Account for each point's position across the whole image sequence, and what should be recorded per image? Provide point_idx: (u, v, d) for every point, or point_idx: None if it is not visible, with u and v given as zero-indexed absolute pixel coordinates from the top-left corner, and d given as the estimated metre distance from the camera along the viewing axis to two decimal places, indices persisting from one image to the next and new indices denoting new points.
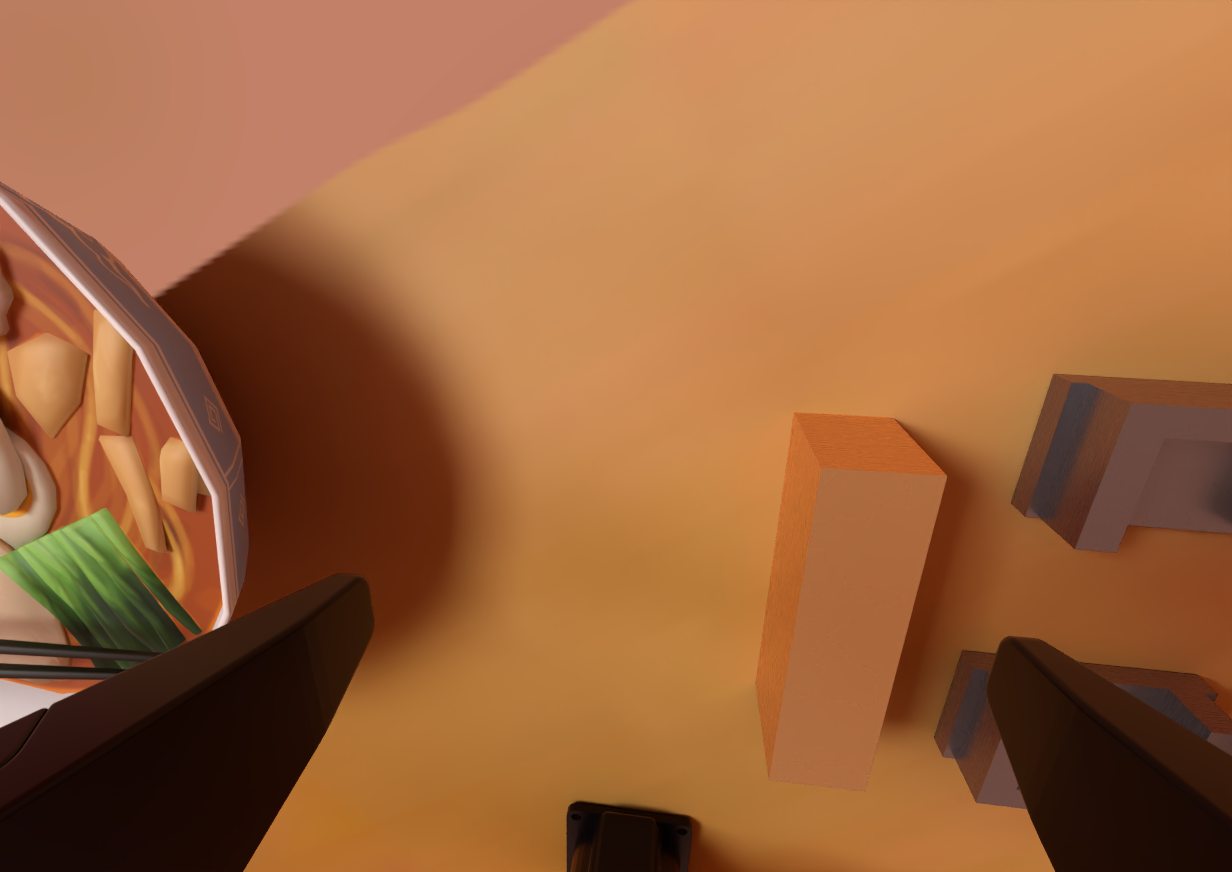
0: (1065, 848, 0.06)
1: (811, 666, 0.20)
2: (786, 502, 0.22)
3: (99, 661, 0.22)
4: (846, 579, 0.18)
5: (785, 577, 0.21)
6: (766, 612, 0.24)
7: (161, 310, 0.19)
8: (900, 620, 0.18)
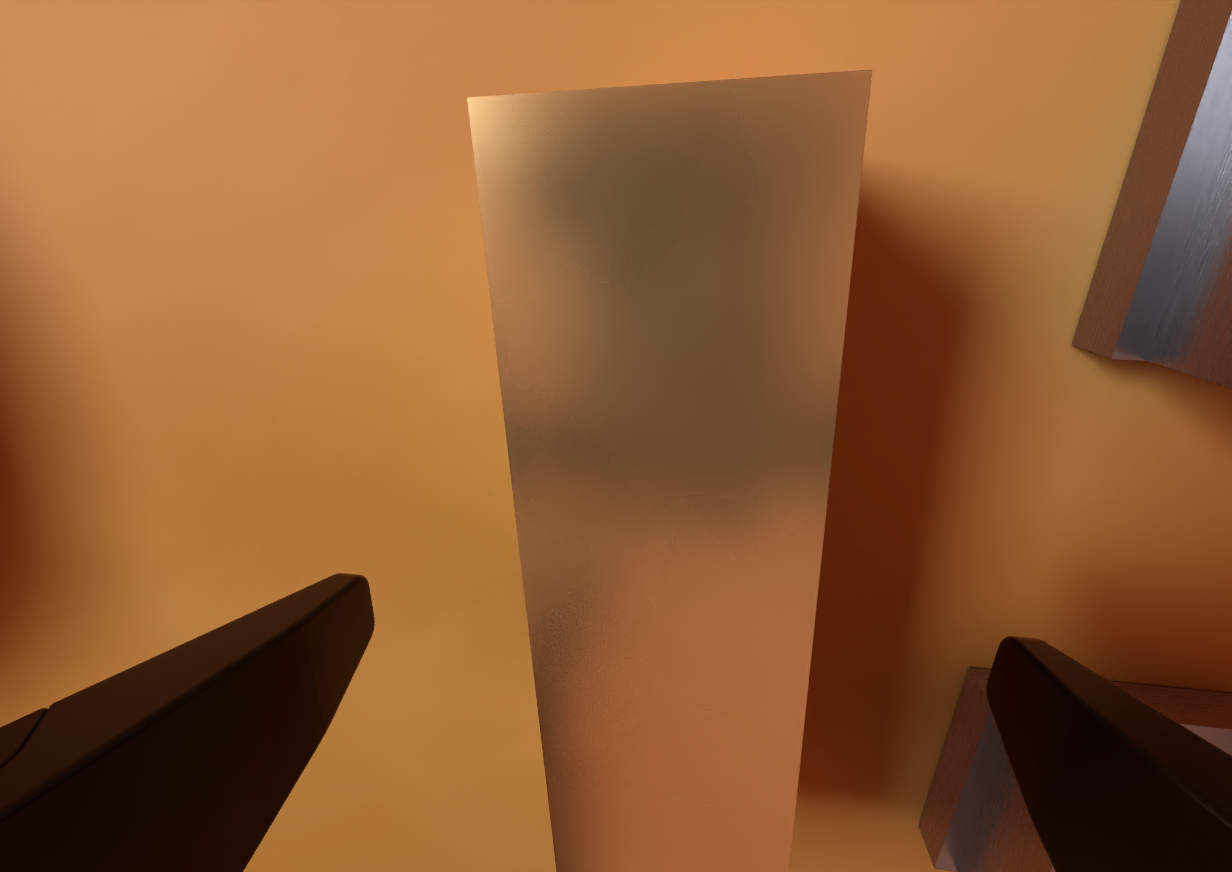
0: (1065, 848, 0.06)
1: (594, 720, 0.08)
2: None
3: None
4: (627, 478, 0.06)
5: None
6: None
7: None
8: (793, 587, 0.07)
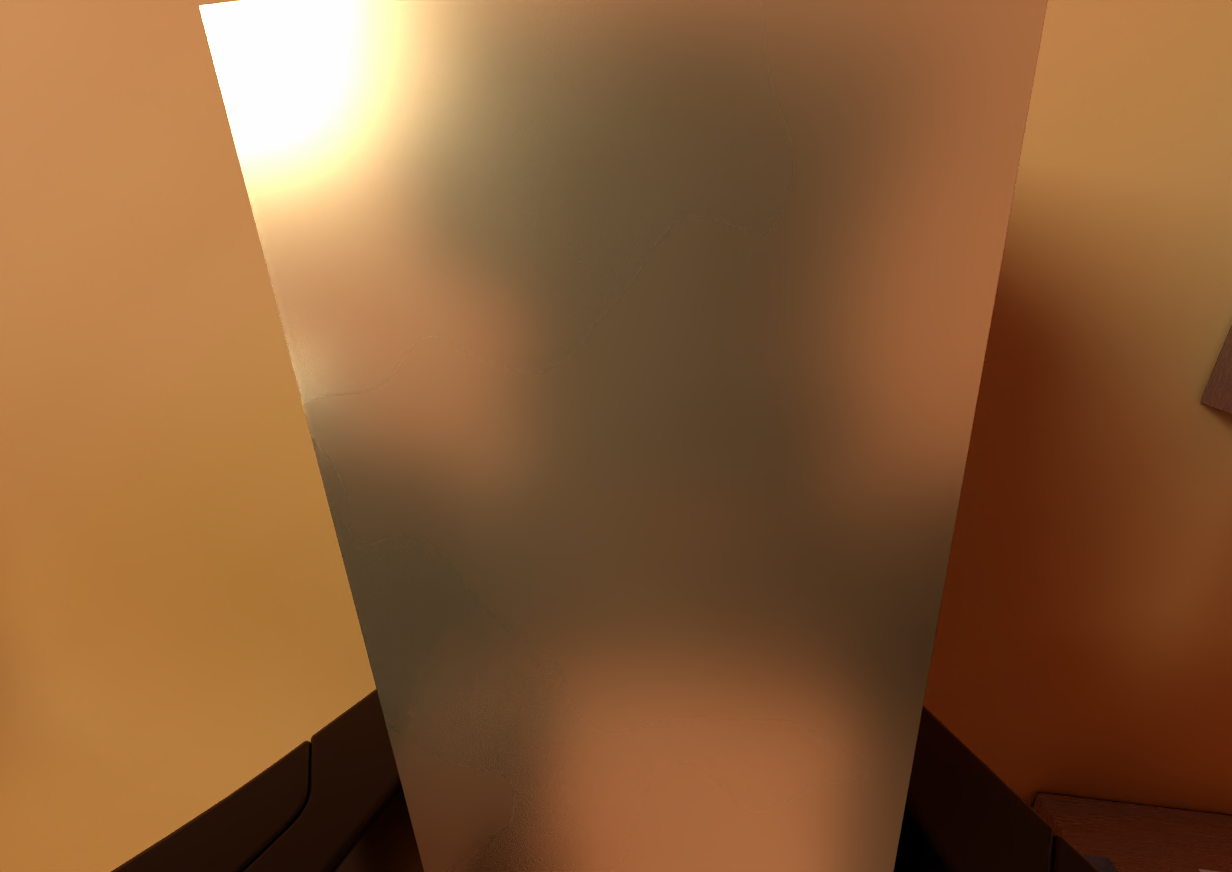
0: None
1: None
2: None
3: None
4: (569, 685, 0.04)
5: None
6: None
7: None
8: (853, 853, 0.04)
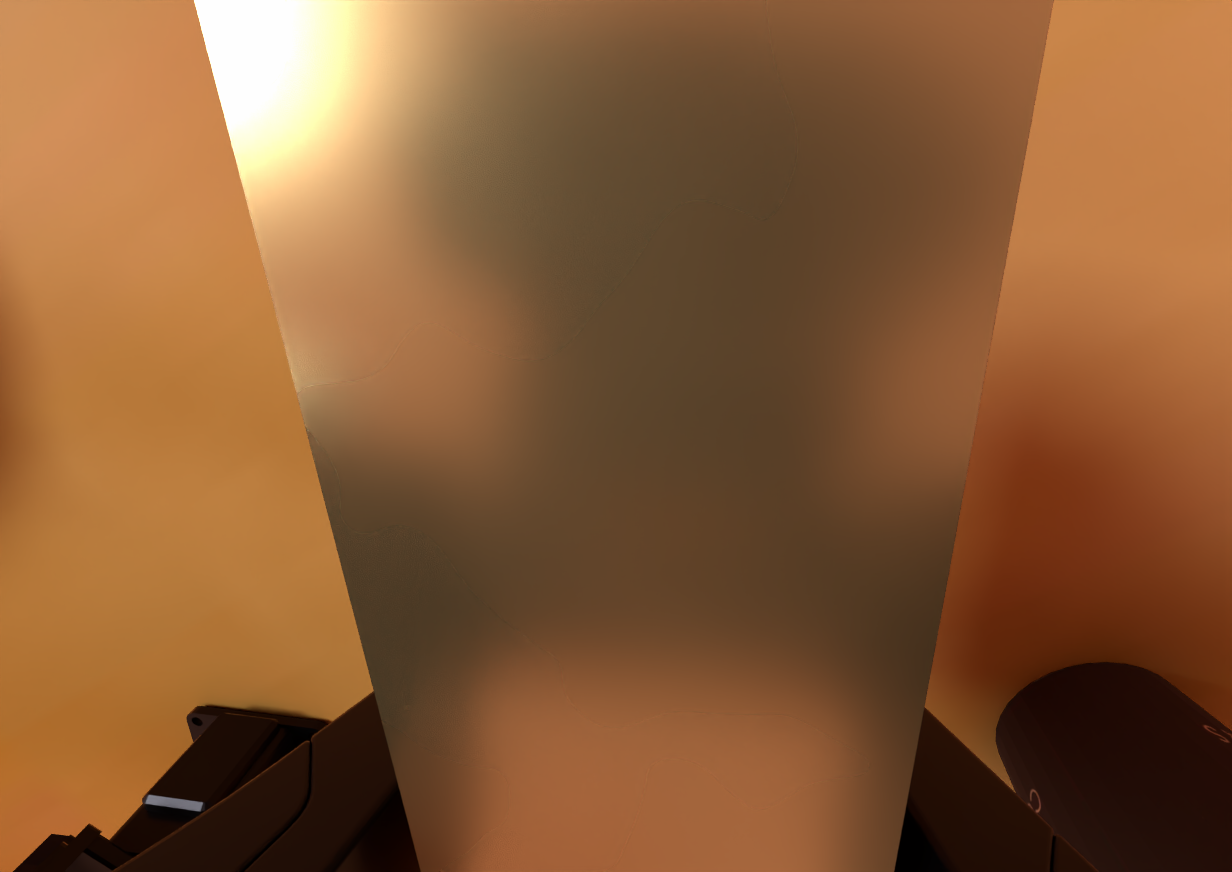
0: None
1: None
2: None
3: None
4: (567, 679, 0.04)
5: None
6: None
7: None
8: (854, 851, 0.04)
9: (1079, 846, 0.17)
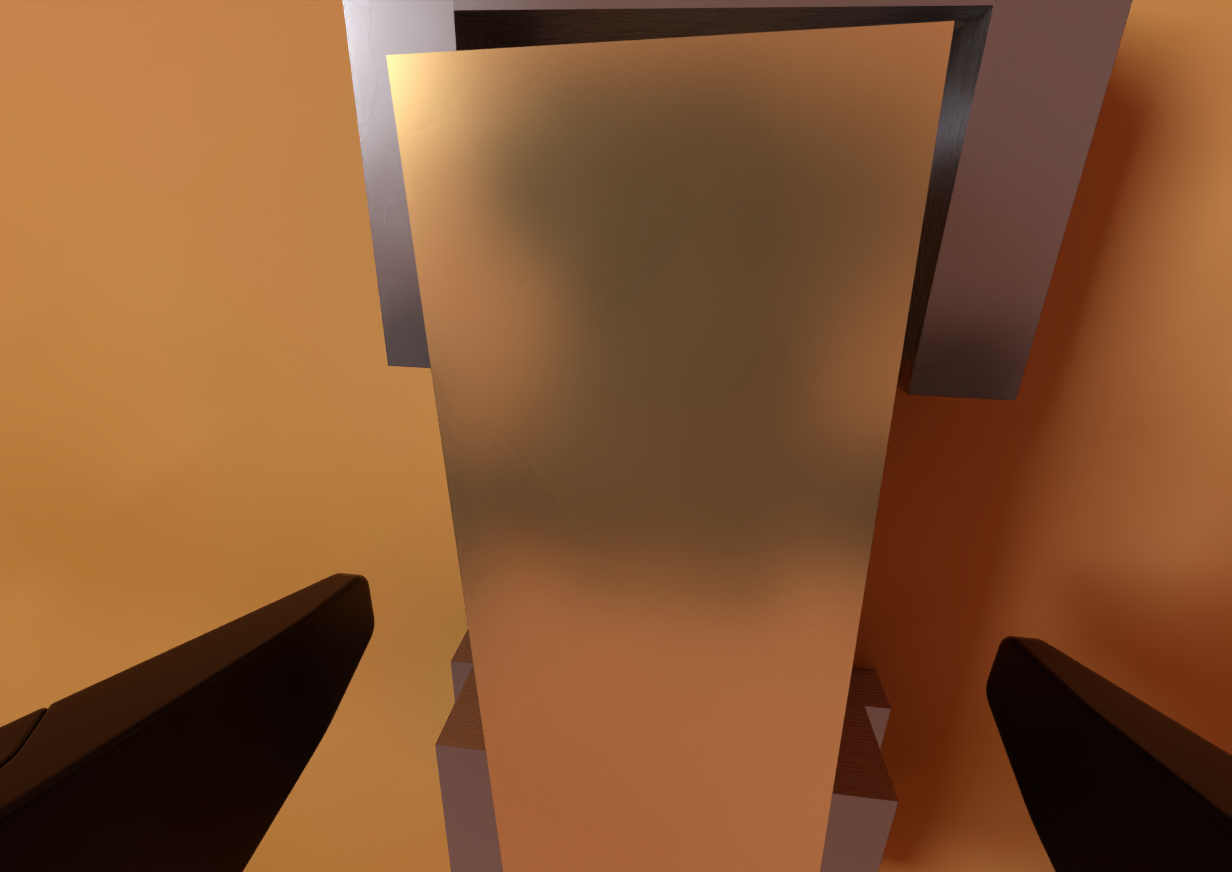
0: (1065, 848, 0.06)
1: (565, 835, 0.06)
2: None
3: None
4: (607, 558, 0.05)
5: None
6: None
7: None
8: (815, 696, 0.05)
9: None
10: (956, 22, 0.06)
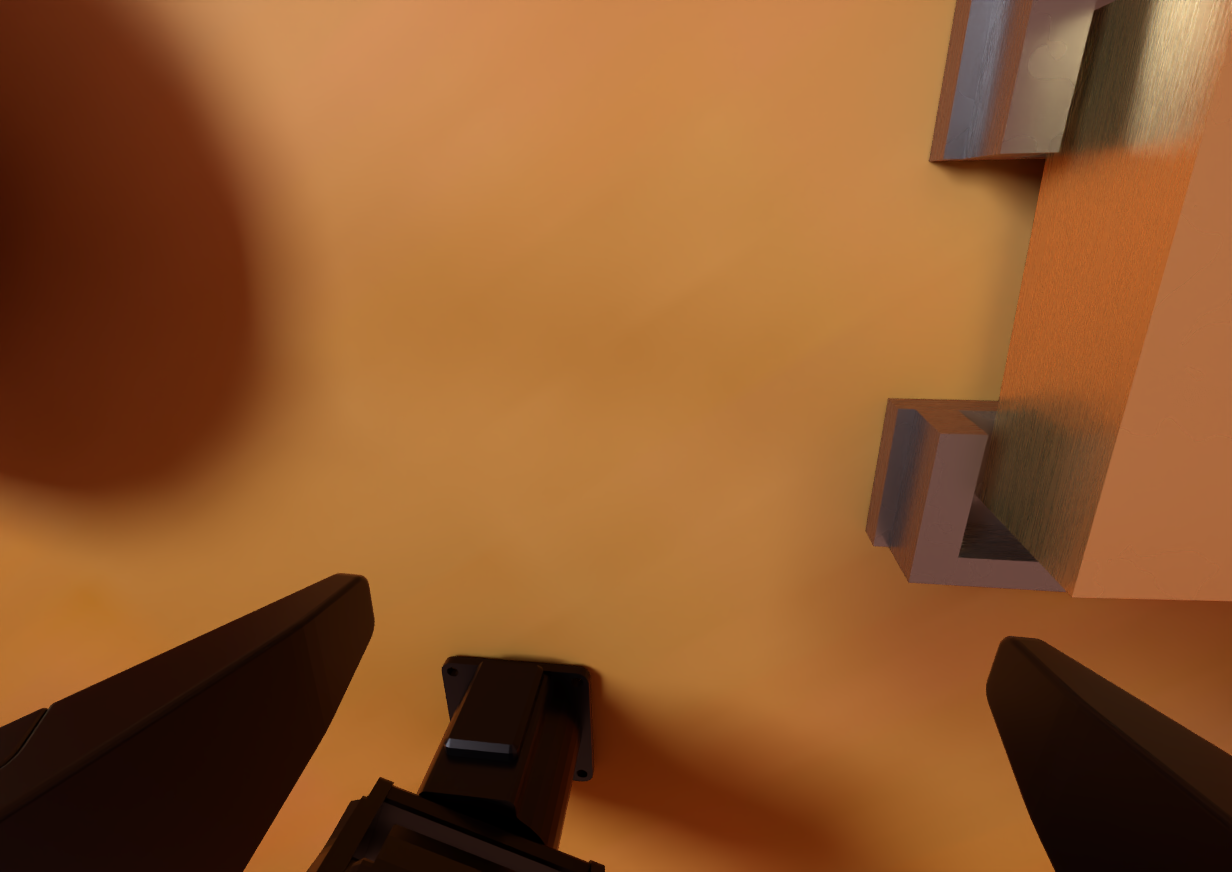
0: (1065, 848, 0.06)
1: (1175, 375, 0.12)
2: (1070, 166, 0.14)
3: None
4: None
5: (1088, 268, 0.13)
6: (1009, 382, 0.17)
7: None
8: None
9: None
10: None
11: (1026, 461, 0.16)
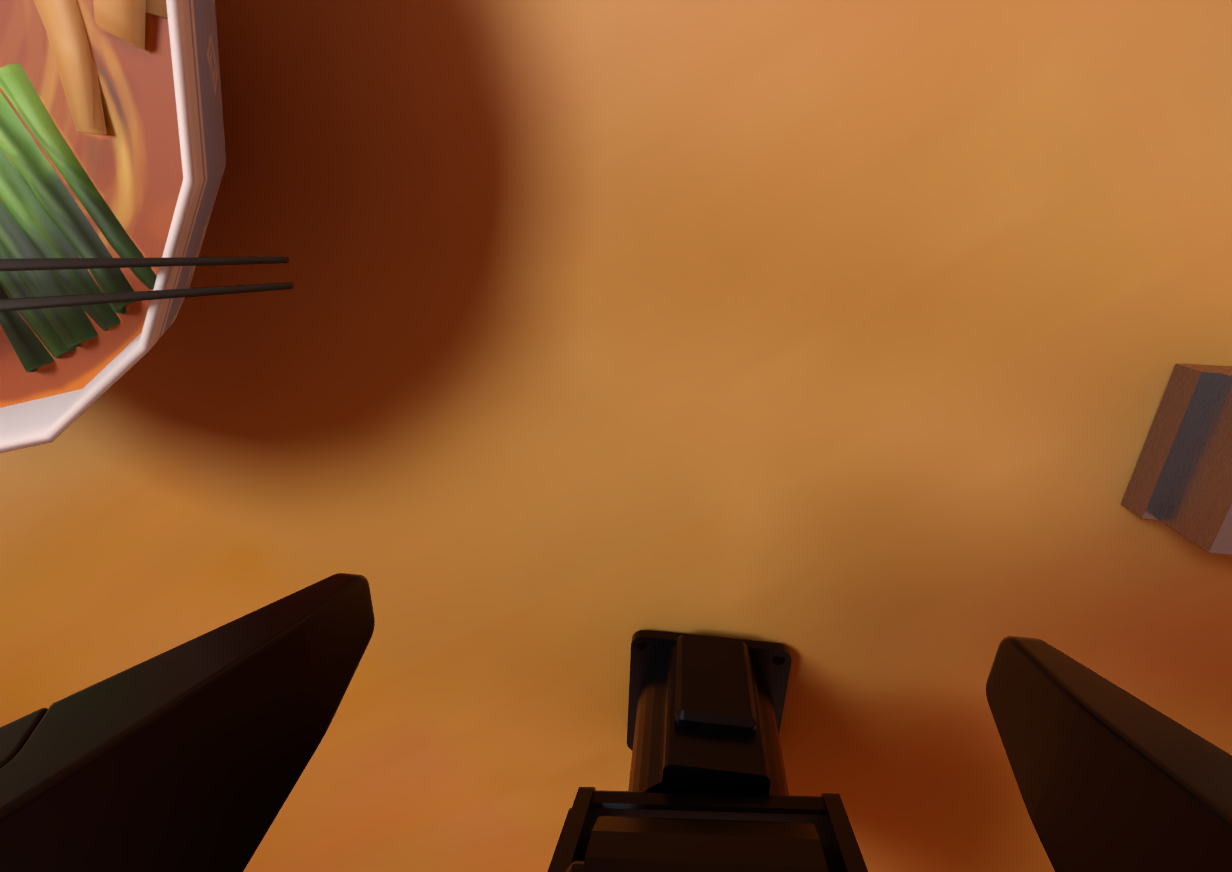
0: (1065, 848, 0.06)
1: None
2: None
3: (21, 342, 0.16)
4: None
5: None
6: None
7: None
8: None
9: None
10: None
11: None
